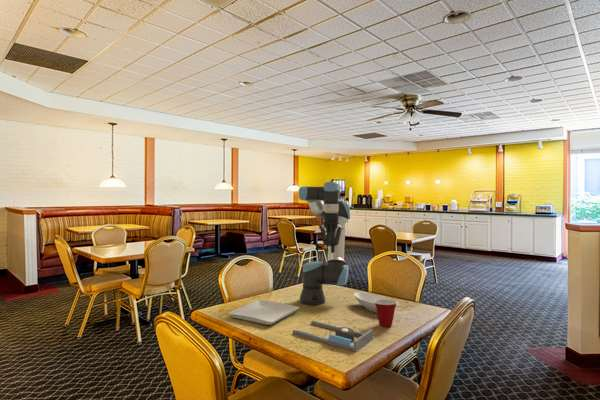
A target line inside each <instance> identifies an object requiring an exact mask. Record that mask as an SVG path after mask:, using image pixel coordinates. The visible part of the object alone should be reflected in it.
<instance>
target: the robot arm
mask: <svg viewBox="0 0 600 400" xmlns="http://www.w3.org/2000/svg"><path fill="white" fill-rule="evenodd" d="M340 197H341V189H340V185H339V182H338V181H325V182H324V183H323V186H308V185H307V186H306V185H305V186H299V189H298V198H299V200H300V201H304V202H306V203H307V204H308V206H309V209H310V212H311V214H313V215H315V216H316V217H319V218H320V219H323V223H322V224H320V225H319V226H318V227H319V230H320V234H321V238H322V244H323V245H325V246H326V253H327V259H328V260H326V264H324V262H323V261H320V260H319V261H318V260H316V261H309V262H306V263H304V264H303V267H302V289H301V292H300V295H299V302H300V303H301V304H304V305H307V306H316V305H317V306H319V305H323V304H325V303H326V296H325V294H324V289H323V285H324V286H325V285H326V286H345V285H346V284H347V282H348V278H349V270H350V267H349V265H348V264H347V262H346V261H345V245H346V244H345V242H346V240H345V239H346V224H347V223H348V222H349V220H350V219H351V213H350V212H351V211H350V203H349V201H347V200H339V199H340Z"/></svg>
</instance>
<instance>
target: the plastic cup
mask: <svg viewBox="0 0 600 400" xmlns="http://www.w3.org/2000/svg"><path fill="white" fill-rule="evenodd" d="M389 299H390V298H389ZM389 299H379V300H375V301H374V303H375V305H376V309H377V313H376V314H377V320H378V324H379V327H381V328H386V329H387V328H388V329H389V328H392V326H393V322H394V321H393V320H394V315H395V311H396V308H395V306H396V303H398V302H397V300H393V299H392V300H389Z"/></svg>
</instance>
